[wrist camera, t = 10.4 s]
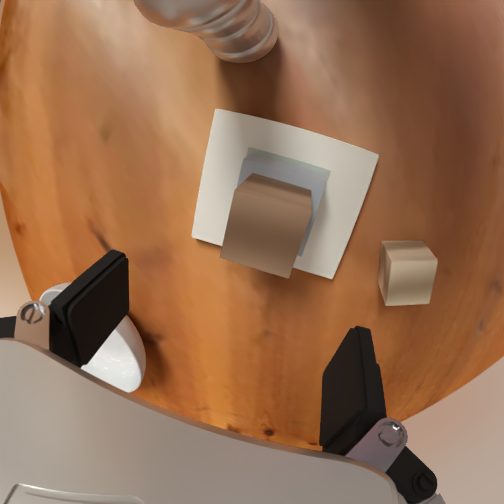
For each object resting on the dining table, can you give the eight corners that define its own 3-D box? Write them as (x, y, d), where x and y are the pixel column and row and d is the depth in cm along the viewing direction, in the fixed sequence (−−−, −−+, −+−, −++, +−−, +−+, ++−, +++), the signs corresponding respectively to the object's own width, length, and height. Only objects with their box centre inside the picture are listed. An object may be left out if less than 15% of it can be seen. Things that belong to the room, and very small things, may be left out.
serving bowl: (110, 250, 37) (79, 275, 31) (183, 362, 44) (167, 394, 38) (45, 283, 44) (22, 303, 37) (105, 368, 51) (89, 391, 44)
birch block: (380, 240, 29) (391, 261, 25) (422, 239, 28) (438, 260, 24) (377, 280, 31) (385, 305, 27) (416, 279, 30) (428, 303, 26)
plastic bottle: (295, 42, 22) (262, -81, 4) (239, 80, 25) (113, 27, 7) (254, 0, 20) (172, -121, 3) (202, 37, 23) (60, -31, 5)
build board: (219, 108, 26) (215, 108, 25) (376, 153, 25) (379, 155, 24) (195, 232, 33) (191, 237, 32) (331, 273, 32) (332, 279, 31)
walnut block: (252, 172, 23) (234, 189, 18) (311, 190, 23) (311, 212, 18) (239, 226, 26) (219, 257, 20) (293, 243, 25) (288, 278, 20)
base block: (252, 153, 27) (243, 158, 23) (324, 173, 26) (326, 182, 23) (236, 219, 30) (226, 234, 26) (302, 239, 29) (301, 256, 26)
